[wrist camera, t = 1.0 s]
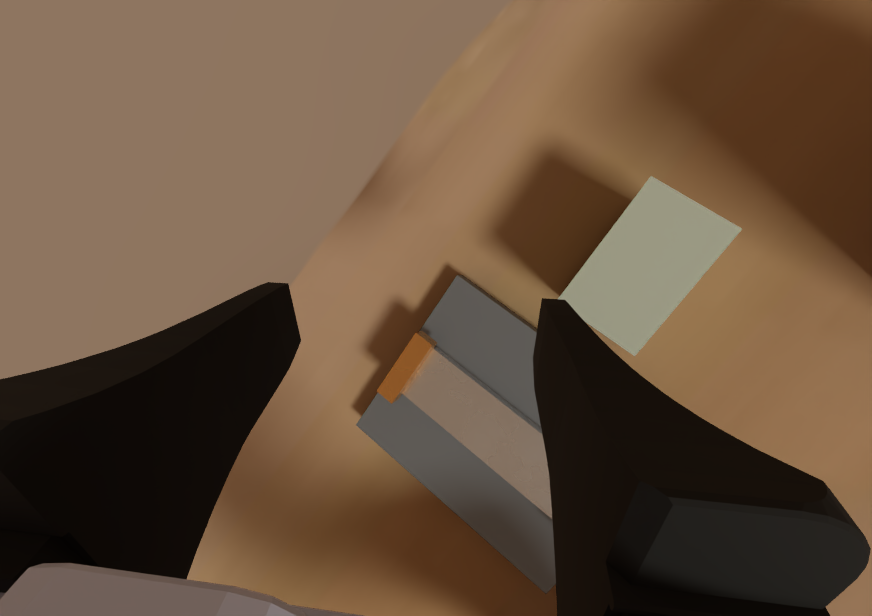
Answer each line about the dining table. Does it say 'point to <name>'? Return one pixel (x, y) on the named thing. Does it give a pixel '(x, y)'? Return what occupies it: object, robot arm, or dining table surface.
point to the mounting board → (448, 458)
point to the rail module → (647, 264)
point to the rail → (472, 416)
